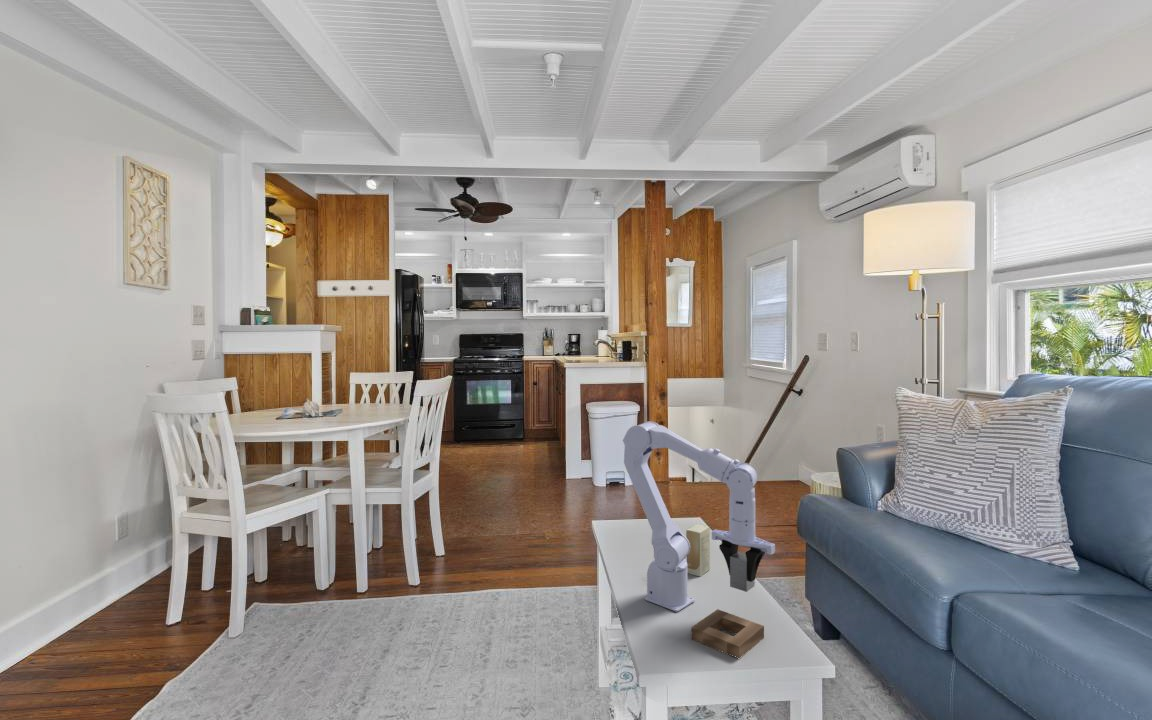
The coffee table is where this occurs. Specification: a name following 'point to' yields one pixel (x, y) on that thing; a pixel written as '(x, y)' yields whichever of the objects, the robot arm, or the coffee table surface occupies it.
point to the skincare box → (698, 550)
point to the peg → (740, 572)
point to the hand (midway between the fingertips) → (742, 577)
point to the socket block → (734, 645)
